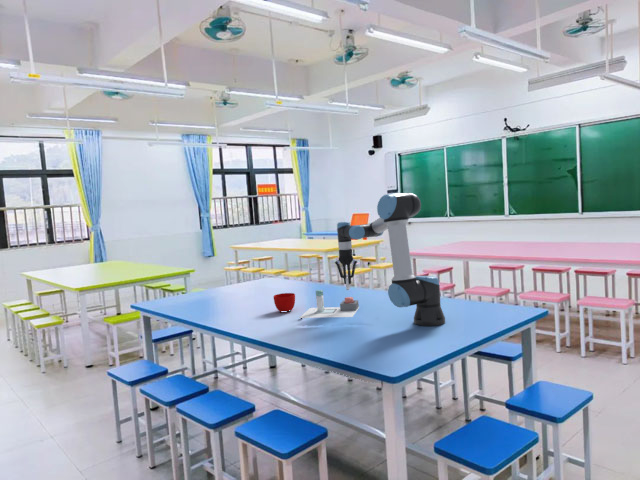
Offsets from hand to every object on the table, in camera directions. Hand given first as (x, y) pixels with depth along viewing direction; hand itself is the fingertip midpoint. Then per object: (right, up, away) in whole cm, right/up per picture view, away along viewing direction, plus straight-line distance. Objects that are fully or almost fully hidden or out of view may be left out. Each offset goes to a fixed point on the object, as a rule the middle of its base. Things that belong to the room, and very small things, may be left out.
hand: (348, 289), depth 265 cm
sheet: (-10, -14, -4) cm, 17 cm away
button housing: (+1, -11, +1) cm, 11 cm away
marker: (-16, -12, 0) cm, 20 cm away
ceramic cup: (-37, -15, +14) cm, 42 cm away
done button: (+1, -9, +1) cm, 9 cm away
